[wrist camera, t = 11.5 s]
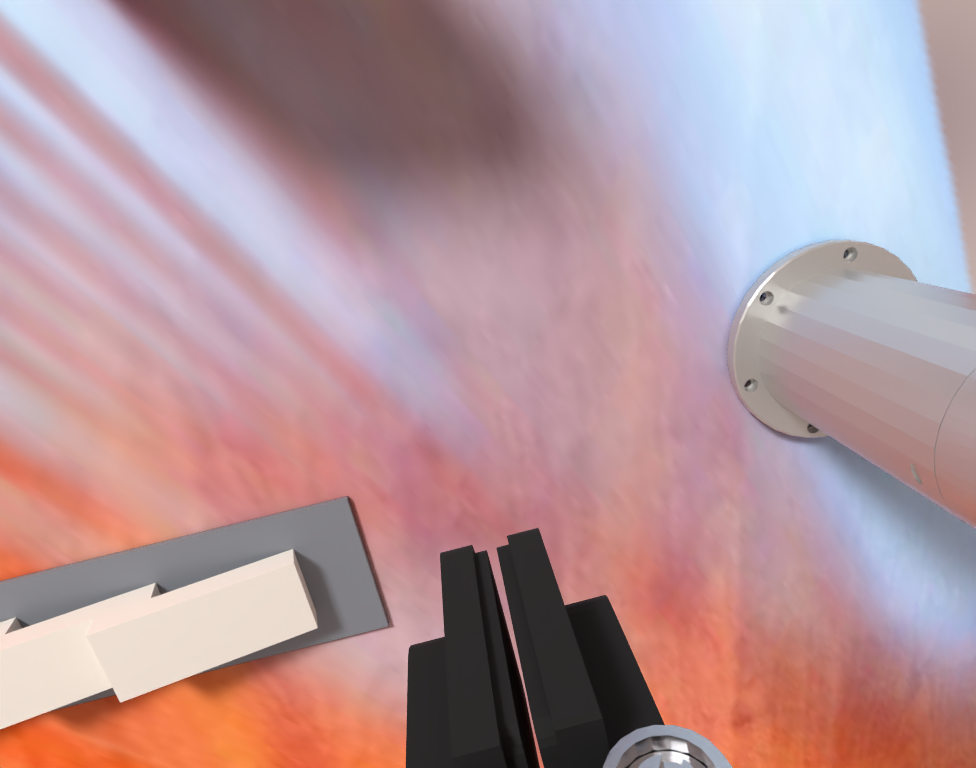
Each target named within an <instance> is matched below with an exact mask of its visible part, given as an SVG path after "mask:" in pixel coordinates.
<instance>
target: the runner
mask: <svg viewBox="0 0 976 768" xmlns="http://www.w3.org/2000/svg"><path fill="white" fill-rule="evenodd" d="M291 549H293V550H294V553H295V555H296V558H297V561H298V564H299V566H300V569H301V572H302V574H303V577H304V580H305V583H306V585H307V588H308V591H309V593H310V596H311V599H312V602H313V604H314V607H315V610H316V614H317V625H318V628H317V629H314V630H311V631H309V632H306V633H303V634H301V635H298V636H295V637H293V638H290V639H287V640H285V641H282V642H280V643H277V644H274V645H272V646H269V647H266V648H264V649H261V650H258V651H256V652H253V653H250V654H248V655H245V656H242V657H240V658H237V659H235V660H232V661H229V662H227V663H224V664H221V665H219V666H216V667H213V668H211V669H208V670H205V671H203V672H200V673H197V674H201V673H205V672H209V671H213V670H217V669H221V668H225V667H229V666H233V665H237V664H241V663H245V662H248V661H252V660H256V659H260V658H264V657H268V656H272V655H276V654H280V653H284V652H288V651H292V650H296V649H300V648H304V647H308V646H312V645H316V644H320V643H324V642H328V641H332V640H336V639H340V638H344V637H348V636H352V635H356V634H360V633H364V632H368V631H372V630H376V629H380V628H384V627H388V625H389V622H388V619H387V616H386V613H385V610H384V607H383V604H382V600H381V597H380V594H379V591H378V588H377V585H376V582H375V579H374V576H373V573H372V570H371V567H370V564H369V560H368V557H367V554H366V551H365V548H364V545H363V542H362V539H361V536H360V533H359V530H358V527H357V524H356V520H355V517H354V514H353V511H352V508H351V505H350V502H349V499H348V496H346V497H342V498H338V499H334V500H330V501H326V502H322V503H318V504H314V505H310V506H306V507H301V508H297V509H293V510H289V511H285V512H281V513H277V514H273V515H269V516H265V517H261V518H256V519H252V520H248V521H244V522H240V523H236V524H232V525H228V526H224V527H220V528H216V529H212V530H207V531H203V532H199V533H195V534H191V535H187V536H183V537H179V538H175V539H171V540H167V541H162V542H158V543H154V544H150V545H146V546H142V547H138V548H134V549H130V550H126V551H122V552H117V553H113V554H109V555H105V556H101V557H97V558H93V559H89V560H85V561H81V562H77V563H73V564H68V565H64V566H60V567H56V568H52V569H48V570H44V571H40V572H36V573H32V574H28V575H23V576H19V577H15V578H11V579H7V580H3V581H0V622H3V621H6V620H9V619H12V618H15V617H16V618H17V620H18V622H19V623H20V625H21V627H22V628H25V627H28V626H31V625H34V624H37V623H40V622H42V621H45V620H48V619H51V618H54V617H57V616H60V615H63V614H66V613H69V612H72V611H74V610H77V609H80V608H83V607H86V606H89V605H92V604H95V603H98V602H101V601H104V600H107V599H109V598H112V597H115V596H118V595H121V594H124V593H127V592H130V591H133V590H136V589H139V588H142V587H144V586H147V585H150V584H153V583H156V584H157V587H158V589H159V591H160V593H161V595H162V594H165V593H167V592H170V591H173V590H176V589H179V588H182V587H185V586H188V585H190V584H193V583H196V582H199V581H202V580H205V579H208V578H211V577H213V576H216V575H219V574H222V573H225V572H228V571H231V570H234V569H236V568H239V567H242V566H245V565H248V564H251V563H254V562H257V561H259V560H262V559H265V558H268V557H271V556H274V555H277V554H280V553H282V552H285V551H288V550H291ZM197 674H195V675H197ZM192 676H193V675H192ZM113 695H116V693H115V691H114V690H113V688H110V689H108V690H105V691H102V692H100V693H97V694H94V695H91V696H89V697H86V698H83V699H81V700H78V701H75V702H73V703H70V704H67V705H65V706H62V707H59V708H56V709H54V710H57V709H61V708H65V707H69V706H73V705H77V704H81V703H85V702H89V701H93V700H97V699H101V698H105V697H109V696H113ZM51 711H53V710H51ZM48 712H49V711H48Z"/></svg>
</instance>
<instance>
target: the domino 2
mask: <svg viewBox="0 0 976 768" xmlns="http://www.w3.org/2000/svg"><path fill="white" fill-rule="evenodd" d="M317 628H318V625H317V614H316V610H315V607H314V604H313V602H312V599H311V596H310V593H309V591H308V588H307V585H306V583H305V580H304V577H303V574H302V572H301V569H300V566H299V564H298V561H297V558H296V555H295V553H294V550H293V549H291V550H288V551H285V552H282V553H280V554H277V555H274V556H271V557H268V558H265V559H262V560H259V561H257V562H254V563H251V564H248V565H245V566H242V567H239V568H236V569H234V570H231V571H228V572H225V573H222V574H219V575H216V576H213V577H211V578H208V579H205V580H202V581H199V582H196V583H193V584H190V585H188V586H185V587H182V588H179V589H176V590H173V591H170V592H167V593H165V594H162V595H159V596H156V597H153V598H150V599H147V600H144V601H142V602H139V603H136V604H133V605H130V606H127V607H124V608H121V609H119V610H116V611H113V612H110V613H107V614H104V615H101V616H98V617H96V618H94V619H93V622H92V624H91V626H90V628H89V631H88V633H87V635H86V637H87V639H88V641H89V643H90V645H91V647H92V649H93V651H94V653H95V655H96V657H97V658H98V660H99V662H100V664H101V666H102V668H103V670H104V672H105V674H106V676H107V678H108V680H109V682H110V684H111V686H112V688H113V690H114V691H115V693H116V695H117V697H118V699H119V701H120V703H121V702H123V701H126V700H129V699H131V698H134V697H137V696H139V695H142V694H145V693H147V692H150V691H152V690H155V689H158V688H160V687H163V686H166V685H168V684H171V683H174V682H176V681H179V680H182V679H184V678H187V677H190V676H192V675H195V674H197V673H200V672H203V671H205V670H208V669H211V668H213V667H216V666H219V665H221V664H224V663H227V662H229V661H232V660H235V659H237V658H240V657H242V656H245V655H248V654H250V653H253V652H256V651H258V650H261V649H264V648H266V647H269V646H272V645H274V644H277V643H280V642H282V641H285V640H287V639H290V638H293V637H295V636H298V635H301V634H303V633H306V632H309V631H311V630H314V629H317Z"/></svg>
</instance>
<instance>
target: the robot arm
mask: <svg viewBox="0 0 976 768" xmlns="http://www.w3.org/2000/svg"><path fill="white" fill-rule="evenodd" d="M761 294H763V296H762V298H761V299H760V296H761ZM727 362H728V370H729V374H730V379H731V383H732V385H733V387H734V390H735V392H736V394H737V396H738V398H739V399H740V401H741V402H742V403H743V405H744V406H745V407H746V408H747V410H748V411H749V412H750V413H752V414H753V415H754V416H755V417H756V418H758V419H759V420H760V421H761V422H763V423H765V424H766V425H768V426H769V427H771V428H772V429H774V430H776V431H779V432H782V433H785V434H787V435H790V436H797V437H804V438H815V437H826V436H830V437H832V438H833V439H835V440H836V441H838V442H839V443H841V444H842V445H844V446H846V447H847V448H849V449H850V450H852V451H853V452H855V453H857V454H858V455H860V456H861V457H863V458H864V459H866V460H867V461H869V462H871V463H872V464H874V465H875V466H877V467H878V468H880V469H882V470H883V471H885V472H886V473H888V474H889V475H891V476H892V477H894V478H896V479H897V480H899V481H900V482H902V483H903V484H905V485H907V486H908V487H910V488H911V489H913V490H914V491H916V492H918V493H919V494H921V495H922V496H924V497H925V498H927V499H928V500H930V501H932V502H933V503H935V504H936V505H938V506H939V507H941V508H943V509H944V510H946V511H947V512H949V513H950V514H952V515H953V516H955V517H957V518H958V519H960V520H961V521H963V522H965V523H967V524H968V525H970V526H971V527H973V528H975V529H976V295H975V294H970V293H966V292H961V291H956V290H952V289H947V288H943V287H938V286H934V285H929V284H924V283H920V282H918V281H917V280H916V278H915V276H914V275H913V273H912V271H911V270H910V269H909V268H908V267H907V266H906V265H905V264H904V263H903V262H902V261H901V260H900V259H899V258H898V257H897V256H895V255H894V254H892V253H890V252H889V251H887V250H885V249H884V248H881V247H878V246H875V245H872V244H869V243H866V242H859V241H852V240H828V241H824V242H819V243H814V244H810V245H808V246H805V247H803V248H801V249H798V250H796V251H793V252H791V253H790V254H788V255H787V256H785V257H784V258H782V259H780V260H779V261H777V262H776V263H774V264H773V265H772V266H771V267H770V268H769V269H768V270H767V271H766V272H764V273H763V274H762V275H761V276H760V277H759V278H758V280H757V281H756V282H755V283H754V285H753V286H752V287H751V288H750V290H749V291H748V292H747V293H746V295H745V297H744V299H743V301H742V302H741V304H740V306H739V308H738V310H737V312H736V314H735V317H734V320H733V323H732V326H731V329H730V334H729V340H728V346H727ZM746 382H747V383H746ZM745 383H746V384H745ZM507 538H508V542H509V545H505V546H501V547H498V548H497V552H498V557H499V562H500V567H501V571H502V576H503V581H504V586H505V591H506V595H507V600H508V605H509V610H510V615H511V619H512V624H513V629H514V634H515V639H516V643H517V648H518V653H519V658H520V663H521V667H522V672H523V677H524V682H525V687H526V691H527V696H528V701H529V706H530V711H531V715H532V720H533V724H534V729H535V733H536V737H537V741H538V746H539V750H540V753H541V757H542V761H543V765H544V768H733V767H732V766H731V765H730V763H729V762H728V761H727V759H726V758H725V756H724V755H723V754H722V753H721V752H720V751H719V750H718V749H717V748H716V747H715V746H714V745H713V744H712V743H711V742H710V741H709V740H708V739H706V738H705V737H703V736H701V735H699V734H698V733H696V732H694V731H693V730H689V729H686V728H682V727H678V726H675V725H665V724H664V722H663V720H662V718H661V715H660V713H659V711H658V709H657V706H656V704H655V702H654V700H653V697H652V695H651V693H650V691H649V689H648V686H647V684H646V682H645V680H644V677H643V675H642V673H641V671H640V668H639V666H638V664H637V662H636V659H635V657H634V655H633V653H632V650H631V648H630V646H629V644H628V641H627V639H626V637H625V635H624V632H623V630H622V628H621V626H620V623H619V621H618V619H617V617H616V615H615V612H614V610H613V608H612V606H611V603H610V601H609V599H608V597H607V596H606V595H603V596H599V597H596V598H592V599H588V600H584V601H580V602H576V603H573V604H569V605H564V602H563V599H562V596H561V593H560V590H559V587H558V585H557V582H556V579H555V576H554V573H553V570H552V567H551V564H550V561H549V558H548V555H547V552H546V549H545V546H544V543H543V540H542V537H541V534H540V531H539V529H538V528H536V529H532V530H528V531H524V532H520V533H516V534H513V535H509V536H507ZM440 563H441V580H442V598H443V616H444V633H445V637H442V638H438V639H434V640H430V641H426V642H423V643H419V644H415V645H411V646H410V648H409V654H408V692H407V740H406V768H540V766H539V762H538V757H537V752H536V747H535V742H534V737H533V732H532V727H531V722H530V717H529V713H528V708H527V703H526V698H525V693H524V689H523V685H522V681H521V677H520V673H519V669H518V665H517V662H516V658H515V654H514V650H513V647H512V643H511V639H510V635H509V632H508V628H507V624H506V620H505V617H504V613H503V609H502V605H501V602H500V598H499V594H498V590H497V587H496V583H495V579H494V575H493V572H492V568H491V564H490V560H489V557H488V553H487V550H486V551H482V552H478V553H475V552H474V548H473V546H472V545H470V546H466V547H462V548H458V549H454V550H450V551H446V552H443V553H440Z"/></svg>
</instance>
